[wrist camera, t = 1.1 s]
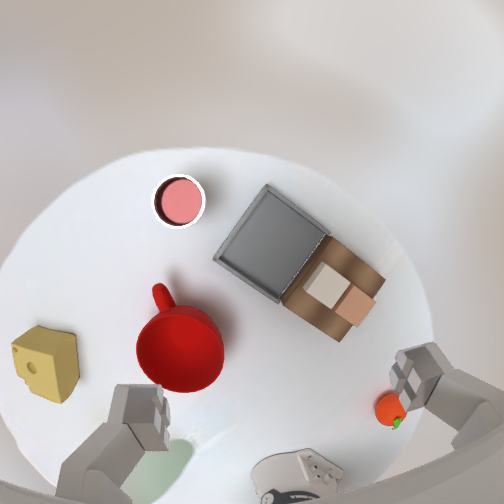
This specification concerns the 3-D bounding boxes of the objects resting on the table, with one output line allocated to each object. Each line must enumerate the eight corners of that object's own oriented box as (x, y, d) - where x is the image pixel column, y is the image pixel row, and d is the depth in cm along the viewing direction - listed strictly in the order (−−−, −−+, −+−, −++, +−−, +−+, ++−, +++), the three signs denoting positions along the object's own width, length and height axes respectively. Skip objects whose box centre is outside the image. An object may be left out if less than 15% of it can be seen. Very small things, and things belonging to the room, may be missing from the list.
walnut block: (375, 274, 54) (385, 279, 50) (332, 333, 55) (339, 342, 51) (325, 234, 52) (333, 237, 48) (279, 298, 53) (283, 305, 49)
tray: (325, 230, 52) (330, 232, 49) (275, 299, 53) (278, 304, 50) (264, 185, 50) (266, 184, 47) (213, 256, 51) (212, 259, 48)
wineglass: (179, 230, 50) (163, 237, 39) (162, 191, 49) (142, 187, 37) (217, 213, 50) (213, 215, 39) (201, 174, 49) (192, 164, 38)
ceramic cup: (203, 262, 51) (196, 275, 42) (235, 352, 54) (236, 382, 44) (131, 284, 51) (111, 301, 41) (167, 370, 54) (156, 400, 44)
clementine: (397, 412, 59) (410, 430, 52) (369, 421, 59) (381, 440, 52) (400, 384, 58) (415, 401, 51) (371, 393, 58) (384, 412, 51)
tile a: (345, 278, 49) (350, 282, 47) (326, 304, 50) (331, 309, 47) (321, 261, 49) (326, 264, 46) (302, 287, 49) (306, 291, 46)
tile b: (369, 297, 50) (376, 302, 48) (351, 322, 50) (357, 327, 48) (348, 281, 49) (354, 285, 47) (330, 306, 50) (334, 311, 47)
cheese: (41, 368, 53) (18, 390, 43) (35, 321, 51) (8, 340, 41) (82, 380, 53) (62, 406, 44) (78, 332, 52) (54, 354, 42)
